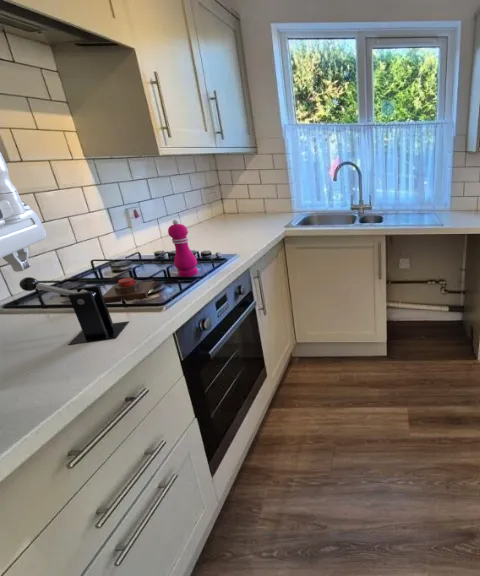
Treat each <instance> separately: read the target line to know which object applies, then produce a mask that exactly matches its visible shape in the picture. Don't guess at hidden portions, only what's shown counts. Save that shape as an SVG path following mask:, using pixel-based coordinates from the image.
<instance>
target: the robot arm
mask: <svg viewBox="0 0 480 576" xmlns="http://www.w3.org/2000/svg"><path fill="white" fill-rule="evenodd" d="M9 172H10V171H9V167H8V163H7V162H6V159H4V156H3V154H2V151H0V259H3V260H4V261H5V262H6V263H8V264H9V265H10V267H11V268H12V270H13V272H16V273H19V272H24V271H25V270H27V269H29V268H31V266H32V265H31V263H30V261H29V258H30V256H29V255H30V250H29V248H28V247H29V246H31V245H34V244H36V243H38V242H40V241H43V240H46V239H47V231H46V229H45V227H44V225H43V223H42V221H41V219H40V217H39V215H38V214H37V213H36V211H34V210H33V209H32V208H31V207H30V205H28V204H27V203H25V202H24V201H22V199H21V197H20V194H19V192H18V189H17V187H15V185H14V184H13V183H12V181H11V179H10V173H9Z"/></svg>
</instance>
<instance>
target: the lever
mask: <svg viewBox="0 0 480 576" xmlns="http://www.w3.org/2000/svg"><path fill="white" fill-rule="evenodd" d="M18 285H19V287H20V289H22V291H26V292H33V291H36V290H39V291H44V292H49V293H54V294H58V295H63V296H66V297H69V296H68V295H69V294H72V293H81V292H90V291H88V290H81V291H80V292H78V291H77V290H70V289H66V288H62V287H57V286H54V285H49V284H44V283H40V282H39V280H37V278H34V277H31V276H28V277H26V276H25V277H24V278H22V279H21V280H20V281H19V284H18ZM92 294H93V296H94V299H95V296H96V292H92Z"/></svg>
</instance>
